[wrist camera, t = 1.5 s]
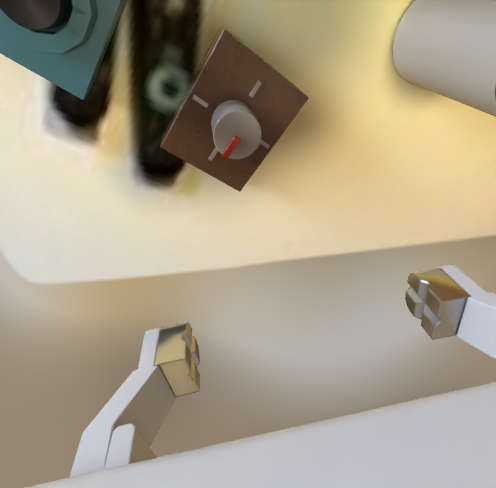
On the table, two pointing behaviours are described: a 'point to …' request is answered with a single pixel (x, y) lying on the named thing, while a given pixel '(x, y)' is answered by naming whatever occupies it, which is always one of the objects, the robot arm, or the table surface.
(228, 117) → the dial knob
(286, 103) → the dial panel
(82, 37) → the button box
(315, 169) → the table surface
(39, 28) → the button
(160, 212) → the table surface
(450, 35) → the travel mug
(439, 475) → the robot arm
